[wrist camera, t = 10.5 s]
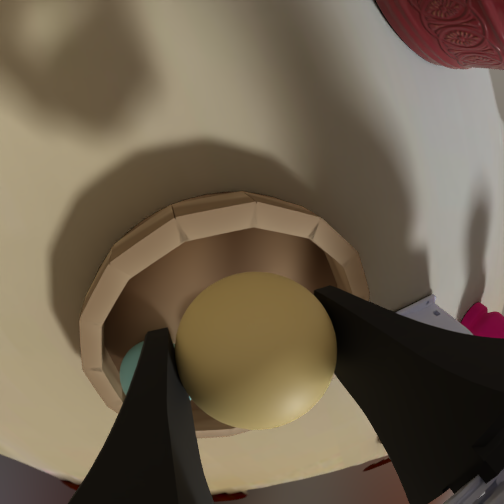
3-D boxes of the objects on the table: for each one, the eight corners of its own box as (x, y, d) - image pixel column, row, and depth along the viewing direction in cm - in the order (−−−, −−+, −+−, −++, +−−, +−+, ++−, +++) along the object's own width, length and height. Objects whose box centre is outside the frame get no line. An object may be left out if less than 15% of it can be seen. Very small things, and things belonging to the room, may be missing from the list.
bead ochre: (293, 233, 10) (385, 309, 6) (294, 337, 12) (354, 421, 8) (152, 264, 9) (162, 379, 5) (184, 368, 11) (212, 472, 7)
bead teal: (184, 317, 17) (195, 372, 13) (196, 369, 19) (209, 422, 15) (111, 329, 16) (105, 386, 12) (133, 379, 18) (135, 433, 14)
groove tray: (351, 173, 17) (380, 183, 15) (334, 372, 26) (349, 392, 23) (43, 232, 13) (26, 254, 10) (142, 427, 21) (145, 453, 19)
